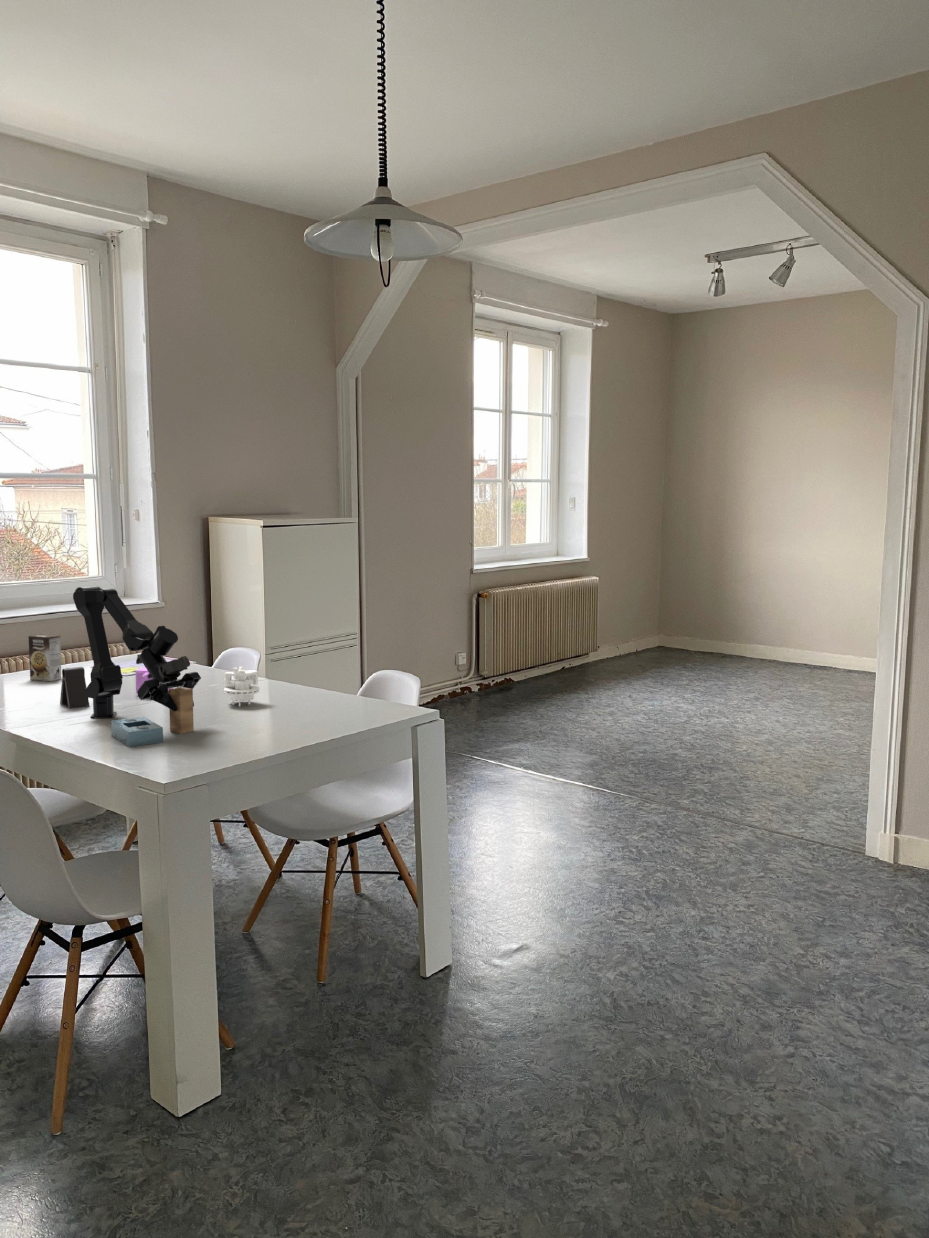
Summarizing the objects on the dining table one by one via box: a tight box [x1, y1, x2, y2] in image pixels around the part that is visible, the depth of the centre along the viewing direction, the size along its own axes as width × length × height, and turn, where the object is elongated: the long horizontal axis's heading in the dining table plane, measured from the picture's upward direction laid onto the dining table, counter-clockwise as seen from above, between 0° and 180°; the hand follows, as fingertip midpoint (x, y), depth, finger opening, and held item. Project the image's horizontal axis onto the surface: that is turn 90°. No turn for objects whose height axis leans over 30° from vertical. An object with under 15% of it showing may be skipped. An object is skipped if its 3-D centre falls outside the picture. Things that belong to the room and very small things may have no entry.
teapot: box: [134, 666, 174, 695], centre depth 314 cm, size 18×14×10 cm
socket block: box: [110, 716, 164, 748], centre depth 252 cm, size 16×9×4 cm, turn 36°
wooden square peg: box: [168, 687, 194, 735], centre depth 260 cm, size 4×4×12 cm
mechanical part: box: [223, 666, 260, 707], centre depth 297 cm, size 11×12×12 cm
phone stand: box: [59, 666, 90, 710], centre depth 293 cm, size 9×6×12 cm, turn 42°
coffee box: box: [28, 633, 62, 682], centre depth 337 cm, size 9×6×16 cm
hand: (184, 708), depth 259 cm, fingers open, 6 cm apart
